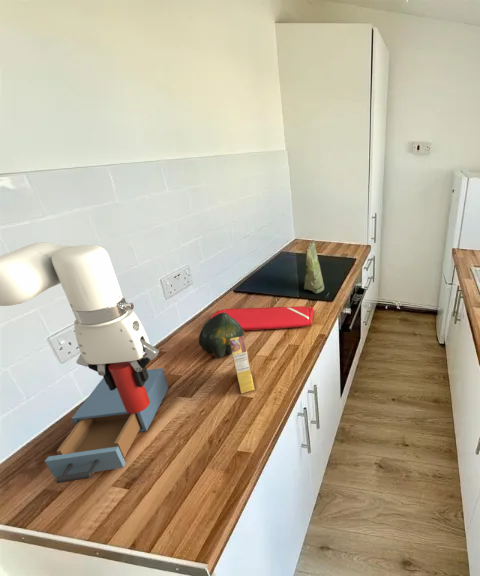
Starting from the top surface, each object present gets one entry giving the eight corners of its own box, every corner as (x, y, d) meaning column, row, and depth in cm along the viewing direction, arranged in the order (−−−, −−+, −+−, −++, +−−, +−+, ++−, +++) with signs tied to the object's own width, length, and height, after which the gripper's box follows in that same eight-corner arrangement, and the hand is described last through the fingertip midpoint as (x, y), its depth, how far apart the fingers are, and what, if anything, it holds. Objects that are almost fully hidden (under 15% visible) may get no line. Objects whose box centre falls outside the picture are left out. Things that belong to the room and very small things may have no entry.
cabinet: (146, 430, 86) (138, 410, 83) (82, 439, 83) (71, 418, 80) (168, 387, 101) (162, 368, 98) (114, 393, 97) (106, 373, 94)
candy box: (236, 376, 107) (229, 338, 100) (250, 373, 108) (244, 334, 102) (239, 394, 100) (232, 354, 93) (254, 390, 101) (248, 350, 95)
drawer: (114, 484, 72) (106, 467, 70) (42, 497, 69) (30, 479, 67) (149, 416, 90) (144, 400, 87) (93, 423, 87) (85, 407, 84)
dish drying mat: (217, 313, 141) (216, 306, 140) (313, 310, 147) (313, 303, 146) (205, 333, 127) (203, 325, 126) (311, 329, 133) (311, 322, 132)
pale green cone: (310, 296, 160) (307, 248, 149) (298, 288, 167) (294, 241, 156) (329, 290, 167) (328, 244, 156) (316, 282, 174) (314, 237, 163)
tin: (122, 415, 70) (103, 371, 65) (131, 400, 74) (114, 357, 68) (145, 412, 71) (129, 368, 66) (153, 397, 75) (138, 355, 69)
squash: (193, 356, 106) (220, 319, 107) (188, 335, 117) (213, 301, 118) (232, 369, 115) (257, 334, 116) (224, 348, 127) (247, 317, 127)
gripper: (158, 298, 67) (179, 368, 75) (60, 304, 63) (93, 377, 71) (143, 317, 60) (167, 391, 68) (33, 324, 56) (72, 402, 64)
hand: (129, 383), depth 69 cm, fingers closed on tin, 4 cm apart
